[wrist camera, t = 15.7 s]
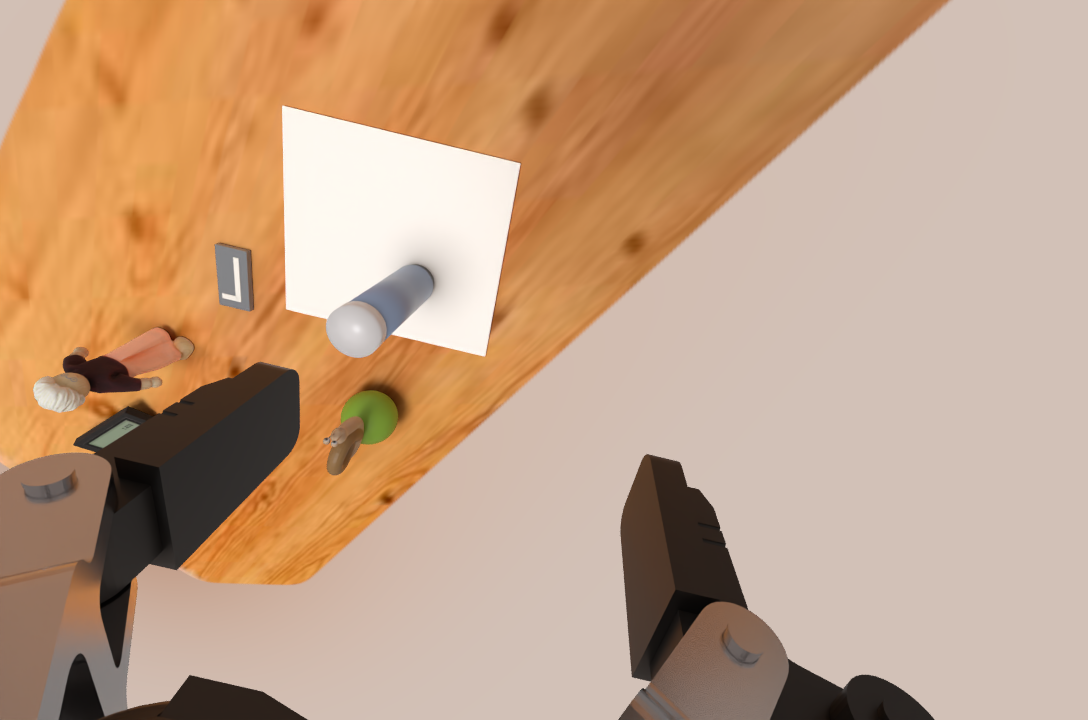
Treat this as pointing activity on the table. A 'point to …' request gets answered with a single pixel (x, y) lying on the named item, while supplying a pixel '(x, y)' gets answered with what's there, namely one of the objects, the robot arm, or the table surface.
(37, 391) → the grandmother figurine
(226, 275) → the letter card
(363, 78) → the table surface
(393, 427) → the snail figurine
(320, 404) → the table surface
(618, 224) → the table surface
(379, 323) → the grey-blue cylinder
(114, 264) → the table surface
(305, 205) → the paper
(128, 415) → the calculator
